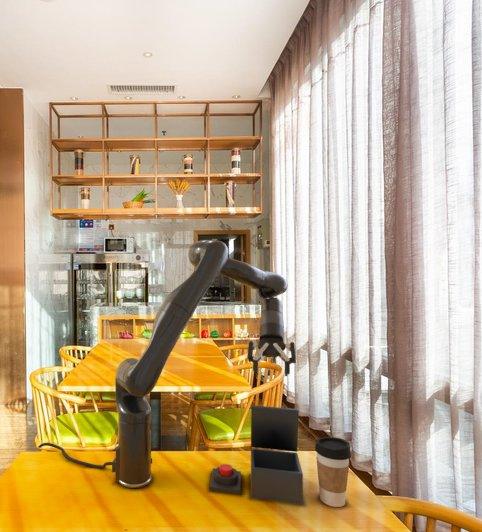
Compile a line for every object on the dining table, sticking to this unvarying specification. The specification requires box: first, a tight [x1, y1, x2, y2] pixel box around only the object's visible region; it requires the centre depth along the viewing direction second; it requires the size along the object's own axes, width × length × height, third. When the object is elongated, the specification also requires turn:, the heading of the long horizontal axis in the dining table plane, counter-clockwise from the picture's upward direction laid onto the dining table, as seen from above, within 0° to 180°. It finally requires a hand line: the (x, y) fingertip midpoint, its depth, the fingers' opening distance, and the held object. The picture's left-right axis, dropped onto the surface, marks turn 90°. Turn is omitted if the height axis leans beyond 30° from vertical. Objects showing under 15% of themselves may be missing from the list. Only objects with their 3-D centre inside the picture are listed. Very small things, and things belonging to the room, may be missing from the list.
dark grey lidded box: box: [250, 447, 304, 506], centre depth 107 cm, size 12×13×8 cm
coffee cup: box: [314, 436, 352, 508], centre depth 102 cm, size 8×8×15 cm
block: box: [209, 466, 242, 496], centre depth 109 cm, size 8×10×3 cm
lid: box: [250, 404, 300, 453], centre depth 111 cm, size 12×13×1 cm
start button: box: [218, 463, 234, 476], centre depth 109 cm, size 4×4×2 cm
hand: (271, 374), depth 119 cm, fingers open, 8 cm apart
